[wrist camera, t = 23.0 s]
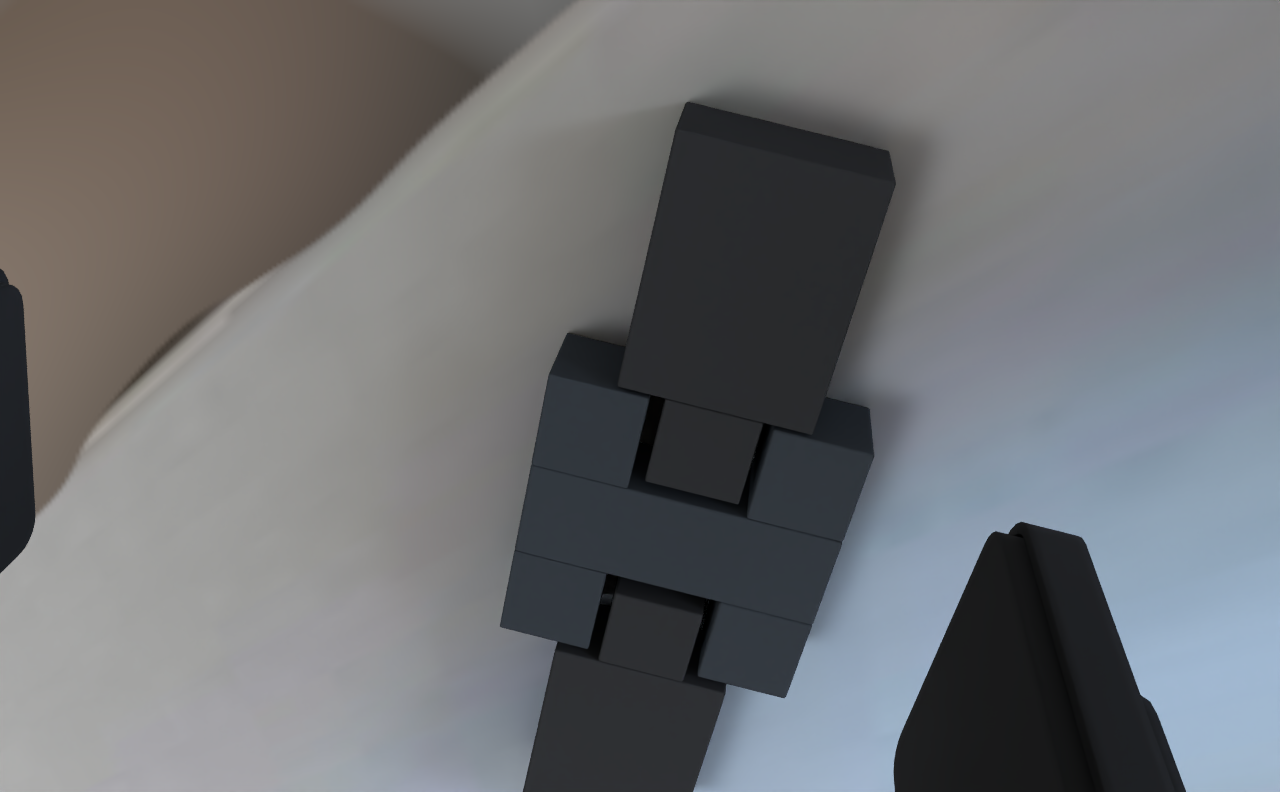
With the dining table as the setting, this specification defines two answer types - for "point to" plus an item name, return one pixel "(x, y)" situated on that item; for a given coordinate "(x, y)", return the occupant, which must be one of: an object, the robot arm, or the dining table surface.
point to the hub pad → (681, 524)
